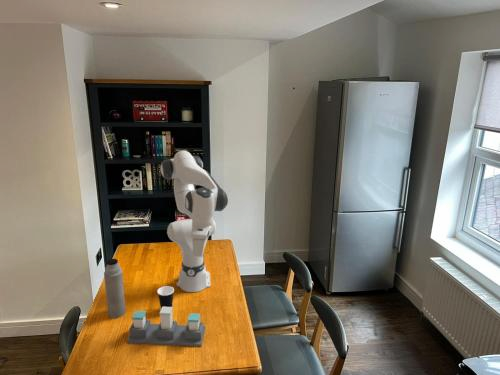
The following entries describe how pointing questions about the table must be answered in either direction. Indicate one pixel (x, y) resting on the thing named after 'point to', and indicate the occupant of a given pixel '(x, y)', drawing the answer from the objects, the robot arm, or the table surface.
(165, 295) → the dixie cup
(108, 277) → the thermos bottle
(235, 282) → the table surface
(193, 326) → the teal key
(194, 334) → the console
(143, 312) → the teal key
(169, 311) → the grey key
